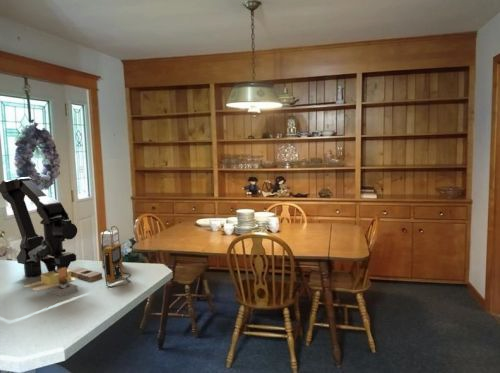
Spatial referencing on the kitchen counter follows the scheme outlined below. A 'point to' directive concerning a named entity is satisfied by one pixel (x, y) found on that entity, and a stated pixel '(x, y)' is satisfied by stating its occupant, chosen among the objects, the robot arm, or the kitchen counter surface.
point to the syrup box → (108, 241)
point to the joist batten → (85, 274)
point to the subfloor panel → (44, 285)
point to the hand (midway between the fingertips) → (56, 277)
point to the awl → (63, 277)
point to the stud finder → (52, 277)
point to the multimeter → (113, 261)
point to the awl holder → (62, 292)
